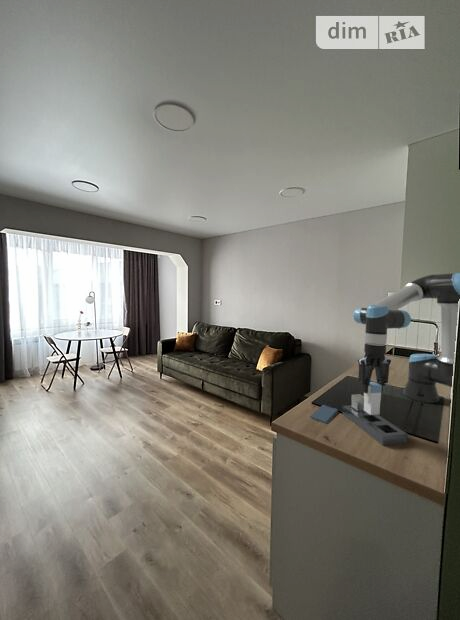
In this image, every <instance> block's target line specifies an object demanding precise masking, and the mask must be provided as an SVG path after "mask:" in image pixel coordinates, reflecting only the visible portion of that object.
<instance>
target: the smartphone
mask: <svg viewBox="0 0 460 620" xmlns="http://www.w3.org/2000/svg"><path fill="white" fill-rule="evenodd" d="M338 412H339V410H338V409H337V408H335V407H332V406H328V405H326V404H322V405H320V406H319V407H318V409H316V410H315V411H314V412H313V413H312V414H311V415H310V416H309V418H310V419H311V420H313V421H316V422H319V423H321V424H328V423H329V422H330V421H332V419H333V418H334V417H335V416H336V415H337V414H338Z"/></svg>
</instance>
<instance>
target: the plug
mask: <svg viewBox="0 0 460 620" xmlns="http://www.w3.org/2000/svg"><path fill="white" fill-rule="evenodd" d="M369 385H370V386H371V394H370V402H368V401H366V400H364V411H365V412H367V413H368V414H370V415H380V414H381V411H380V410H381V401H380V397H381V398H382V392H381V385H380V384H378V383H377V382H375V381H370V383H369Z"/></svg>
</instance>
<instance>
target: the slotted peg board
mask: <svg viewBox="0 0 460 620" xmlns="http://www.w3.org/2000/svg"><path fill="white" fill-rule="evenodd" d="M350 401H351V405H342V408H341V409H342V414H343V415H344V416H345V417H346V418H348V419H349V420H350V421H351V422H353V423H354V424H355V425H356V426H358V427H359V428H360V429H361V430H363V431H364V432H365V433H367V435H368V436H370V437H371V438H373V440H375V441H376V442H378V443H379V444H380V445H381V446H389V445H398V444H399V445H400V444H407V443H408V433H407V432H406V431H404V430H402V429H401V428H399V427H398V426H396V425H395V424H393V423H392V422H390V421H388V419H387V420H386V419H385V418H384V417H382V416H381V415H380V414H378V415H370V414H368V413H367V412H365V411H364V395H363V394H361V393H358V394H357V393H356V394H351V399H350Z"/></svg>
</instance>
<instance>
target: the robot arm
mask: <svg viewBox="0 0 460 620" xmlns="http://www.w3.org/2000/svg"><path fill="white" fill-rule="evenodd" d="M423 299H436V303H437V304H438V305H439V306H440V311H441V312H440V315H441V316H440V317H441V319H440V321H441V322H440V323H441V327H440V329H441V335H440V337H441V338H440V339H441V341H440V342H441V355H440V356H438V355H436V354H432V353H431V354H429V353H413V354H411V355H410V356H409V360H408V374H407V375H408V377H407V382H406V383H405V386H404V388H403V395H404V396H405V397H406V398H409V399H411V400H414V401H418V402H422V403H428V404H435V403H439V402H440V395H439V393H438V389H437V385H436V384H440V385H443V386H446V387H450V388H452V376H453V364H454V352H455V341H456V326H457V312H458V301H459V299H460V272H455V273H440V274H428V275H423V276H421V277H419V278H417V279H414V280H412V281H410V282H408V283H407V284H405V285H404V286H403V288H401V289H399V290H397V291H395V293H391V294H390V295H389V296H386V297H384V298H382V299H380V300H379V301H377V302H375V303H373V304H371V305H368V306H367V307H358V308H356V309H355V310H354V311H353V315H352V316H353V320H354V321H355V322H356V323H357V324H360V325H365V331H364V332H365V333H364V334H365V335H364V356H363V358H358V359H357V363H358V383H360V384H362V392H363V396H364V400H366V401H368V402H370V394H371V386H370V385H369V383H370V382H371V379H372V374H373V371H374V370H375V378H376V383H378V384H380V385H381V393H383V391H384V390H383V389H384V387H385V386H386V384H388V383H389V374H390V365H391V364H392V363H391V362H392V360H391V359H389V358H386V356H385V355H386V354H387V345H386V344H387V341H388V340H387V339H388V329H399V330H400V329H403V328H407V327H408V326H409V325H410V323H411V321H412V319H411V315H410V313H409V312H408V311H406V310H401V308H403V307H405V306H406V305H408V304H410V303H412V302H418V301H420V300H423ZM381 400H382V396H381V397H380V402H381Z"/></svg>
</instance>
